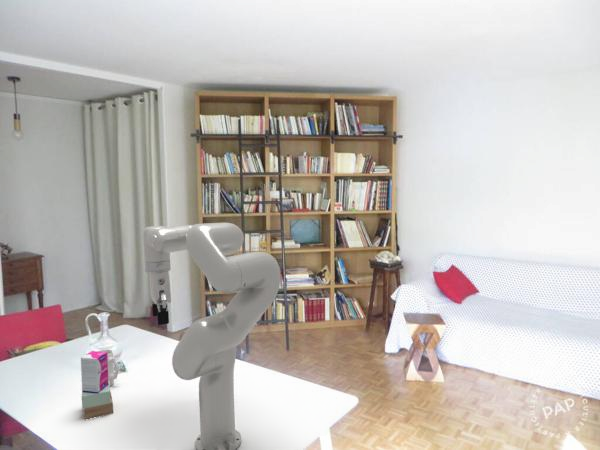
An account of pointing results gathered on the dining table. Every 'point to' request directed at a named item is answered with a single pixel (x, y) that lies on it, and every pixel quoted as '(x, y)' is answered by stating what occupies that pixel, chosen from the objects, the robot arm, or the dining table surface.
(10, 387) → the dining table surface
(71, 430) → the dining table surface
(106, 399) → the sage top block
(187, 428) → the dining table surface
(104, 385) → the supplement box
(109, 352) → the mug
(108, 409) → the walnut base block
